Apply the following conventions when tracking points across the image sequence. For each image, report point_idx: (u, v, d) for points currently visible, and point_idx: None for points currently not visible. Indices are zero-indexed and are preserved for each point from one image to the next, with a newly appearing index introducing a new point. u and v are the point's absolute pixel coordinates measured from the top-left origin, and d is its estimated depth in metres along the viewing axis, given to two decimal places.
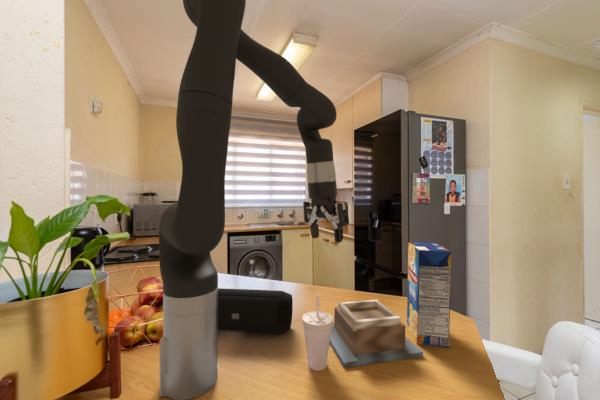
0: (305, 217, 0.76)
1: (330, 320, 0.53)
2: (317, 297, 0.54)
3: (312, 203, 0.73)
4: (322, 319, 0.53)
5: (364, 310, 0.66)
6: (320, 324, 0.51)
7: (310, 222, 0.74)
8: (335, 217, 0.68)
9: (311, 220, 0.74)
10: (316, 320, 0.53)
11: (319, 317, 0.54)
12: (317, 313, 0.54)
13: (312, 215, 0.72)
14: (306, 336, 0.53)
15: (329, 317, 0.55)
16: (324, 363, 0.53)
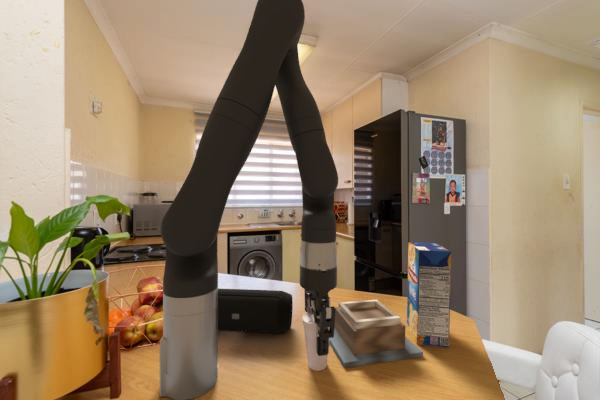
0: (305, 305, 0.59)
1: None
2: None
3: None
4: None
5: (364, 310, 0.66)
6: None
7: None
8: None
9: None
10: None
11: (319, 317, 0.54)
12: None
13: (306, 305, 0.56)
14: (306, 336, 0.53)
15: None
16: (324, 363, 0.53)
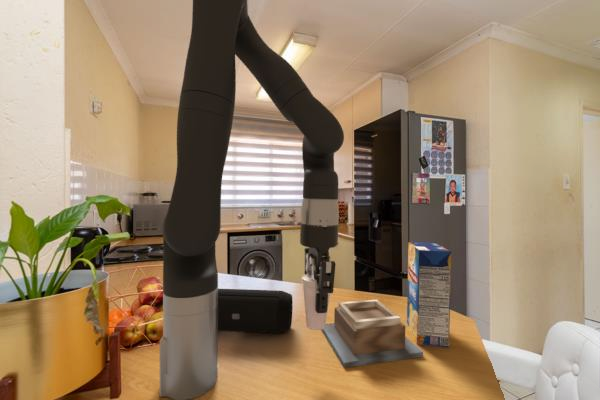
0: (305, 268, 0.59)
1: None
2: None
3: (309, 249, 0.56)
4: None
5: (364, 310, 0.66)
6: None
7: None
8: None
9: None
10: None
11: None
12: None
13: (306, 266, 0.56)
14: (305, 295, 0.52)
15: None
16: (323, 323, 0.52)
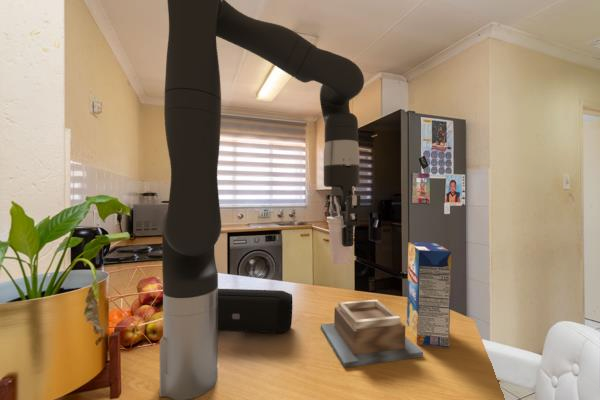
0: (327, 213, 0.62)
1: None
2: None
3: (331, 193, 0.60)
4: None
5: (364, 310, 0.66)
6: None
7: None
8: None
9: None
10: None
11: None
12: None
13: (330, 209, 0.59)
14: (331, 232, 0.56)
15: None
16: (349, 258, 0.56)
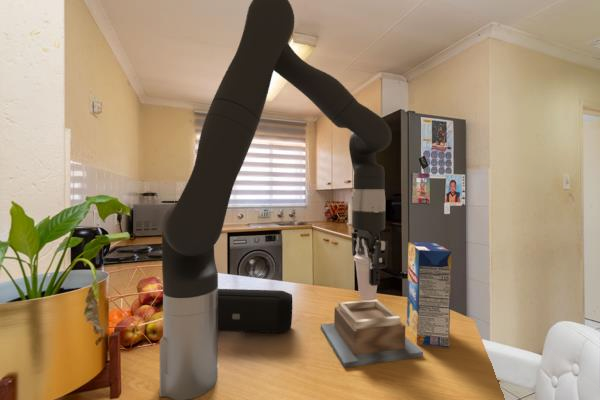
0: (353, 250, 0.68)
1: None
2: None
3: (357, 233, 0.66)
4: None
5: (364, 310, 0.66)
6: None
7: None
8: (374, 255, 0.59)
9: None
10: None
11: None
12: None
13: (356, 248, 0.65)
14: (359, 271, 0.62)
15: None
16: (374, 294, 0.62)
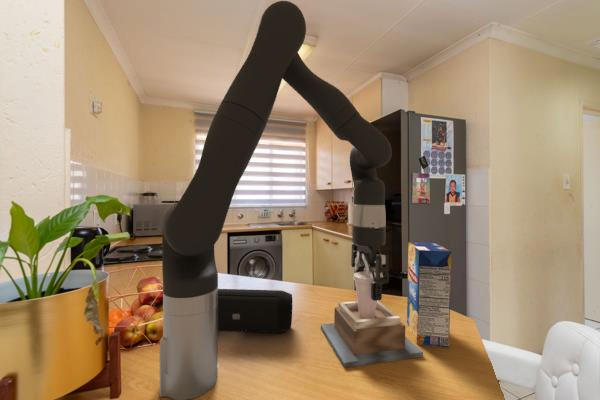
0: (352, 261, 0.69)
1: None
2: None
3: (358, 247, 0.66)
4: None
5: None
6: None
7: (355, 268, 0.67)
8: (375, 270, 0.59)
9: (356, 266, 0.66)
10: (367, 276, 0.61)
11: (369, 274, 0.63)
12: (366, 271, 0.63)
13: (356, 261, 0.65)
14: (358, 290, 0.62)
15: None
16: (374, 313, 0.62)
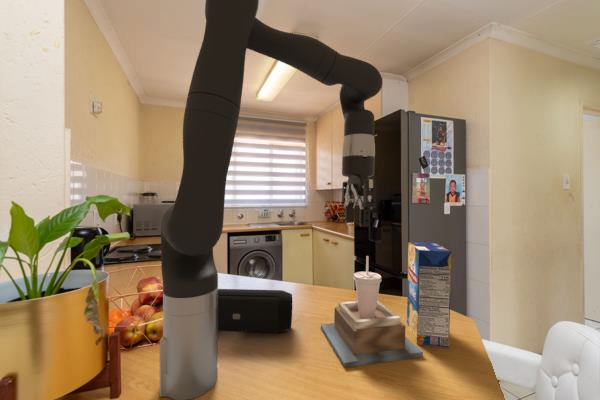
0: (342, 199, 0.70)
1: (379, 276, 0.62)
2: (367, 258, 0.63)
3: (348, 182, 0.66)
4: (372, 276, 0.62)
5: None
6: (372, 279, 0.60)
7: (345, 204, 0.68)
8: None
9: (346, 202, 0.67)
10: (367, 276, 0.61)
11: (369, 274, 0.63)
12: (367, 271, 0.63)
13: (346, 195, 0.66)
14: (358, 290, 0.62)
15: (376, 275, 0.63)
16: (374, 313, 0.62)
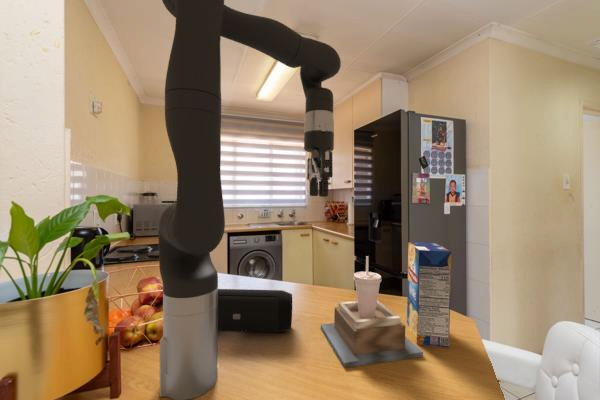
0: (307, 174, 0.74)
1: (379, 276, 0.62)
2: (367, 258, 0.63)
3: (311, 158, 0.71)
4: (372, 276, 0.62)
5: None
6: (372, 279, 0.60)
7: (309, 178, 0.72)
8: None
9: (309, 176, 0.72)
10: (367, 276, 0.61)
11: (369, 274, 0.63)
12: (366, 271, 0.63)
13: (309, 170, 0.70)
14: (358, 290, 0.62)
15: (376, 275, 0.63)
16: (374, 313, 0.62)
